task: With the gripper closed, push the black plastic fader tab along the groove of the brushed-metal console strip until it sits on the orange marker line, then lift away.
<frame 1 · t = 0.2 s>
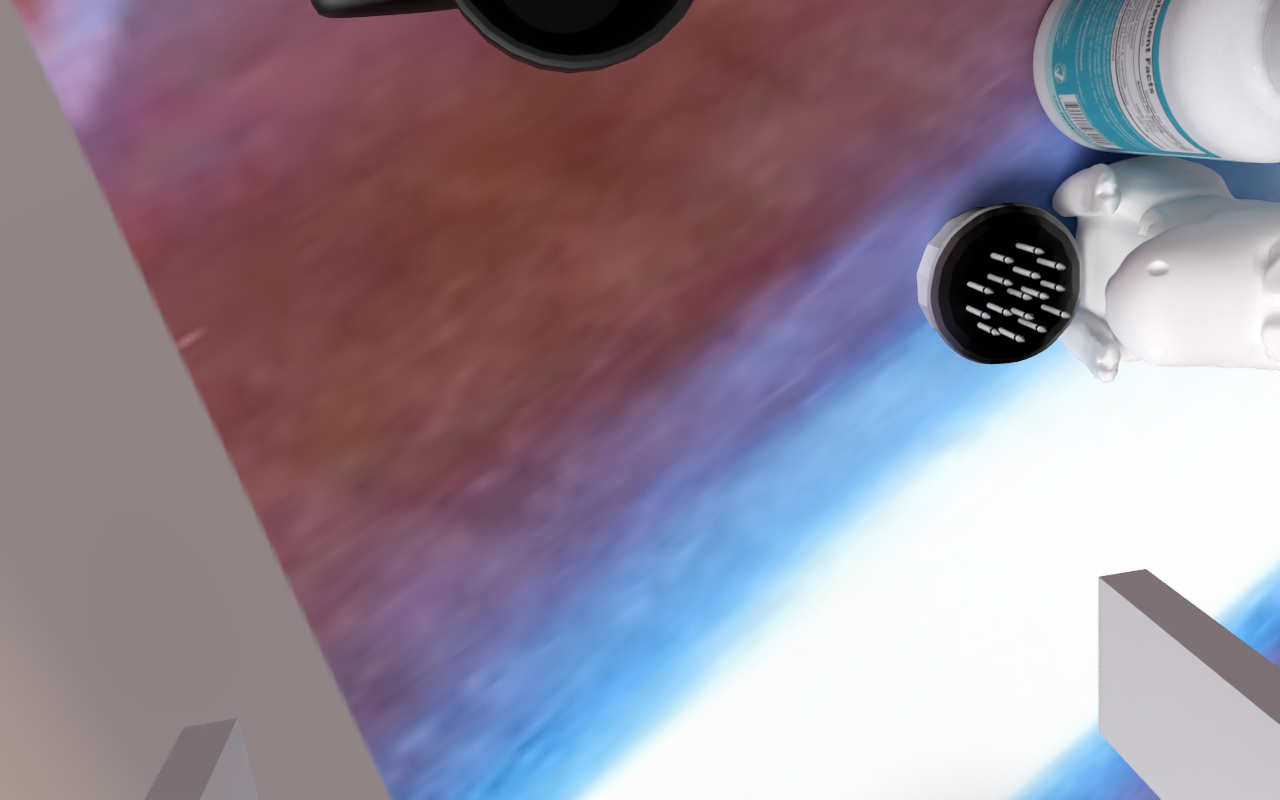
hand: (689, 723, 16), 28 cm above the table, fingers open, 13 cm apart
pill bottle: (1110, 55, 42), on the table
figurine: (1116, 253, 45), on the table
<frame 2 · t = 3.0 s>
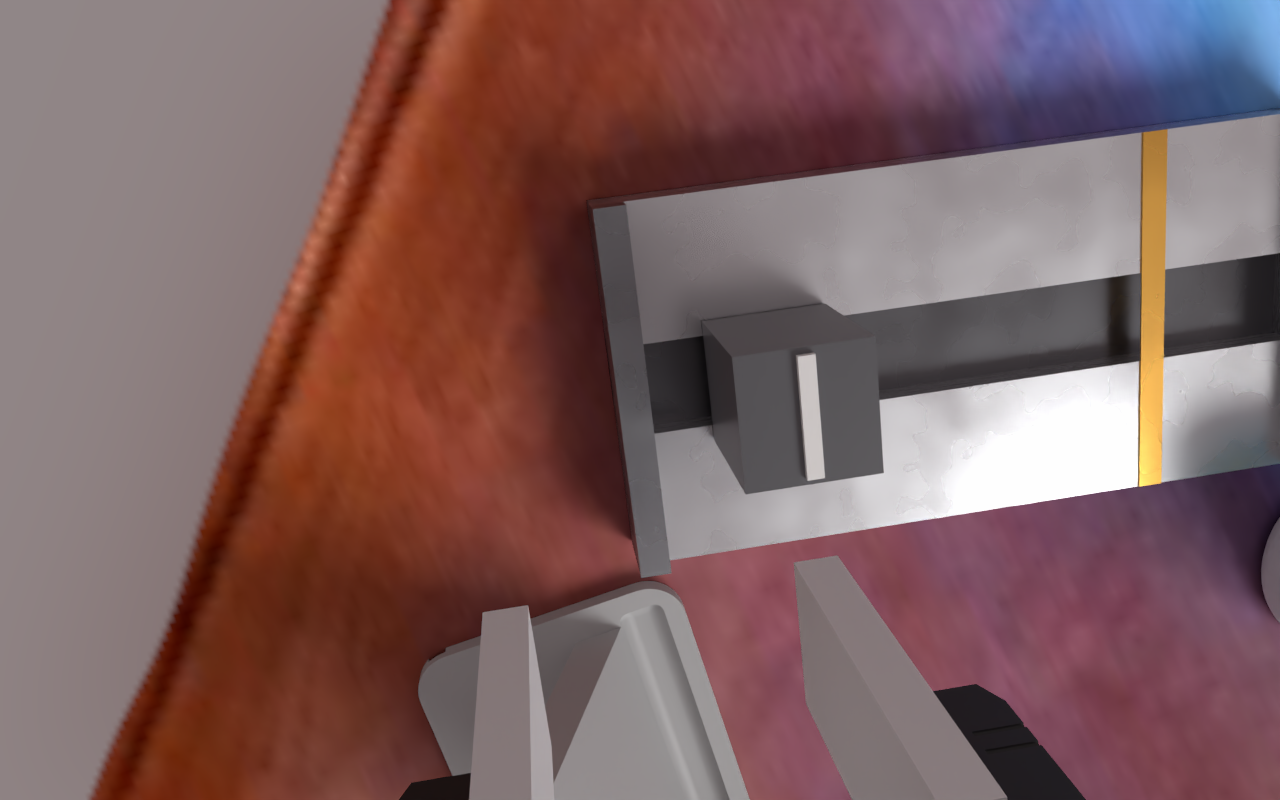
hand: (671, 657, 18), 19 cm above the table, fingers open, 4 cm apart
fader: (785, 390, 32), point 4 cm above the table, slide at -7.0 cm
console: (953, 329, 37), on the table
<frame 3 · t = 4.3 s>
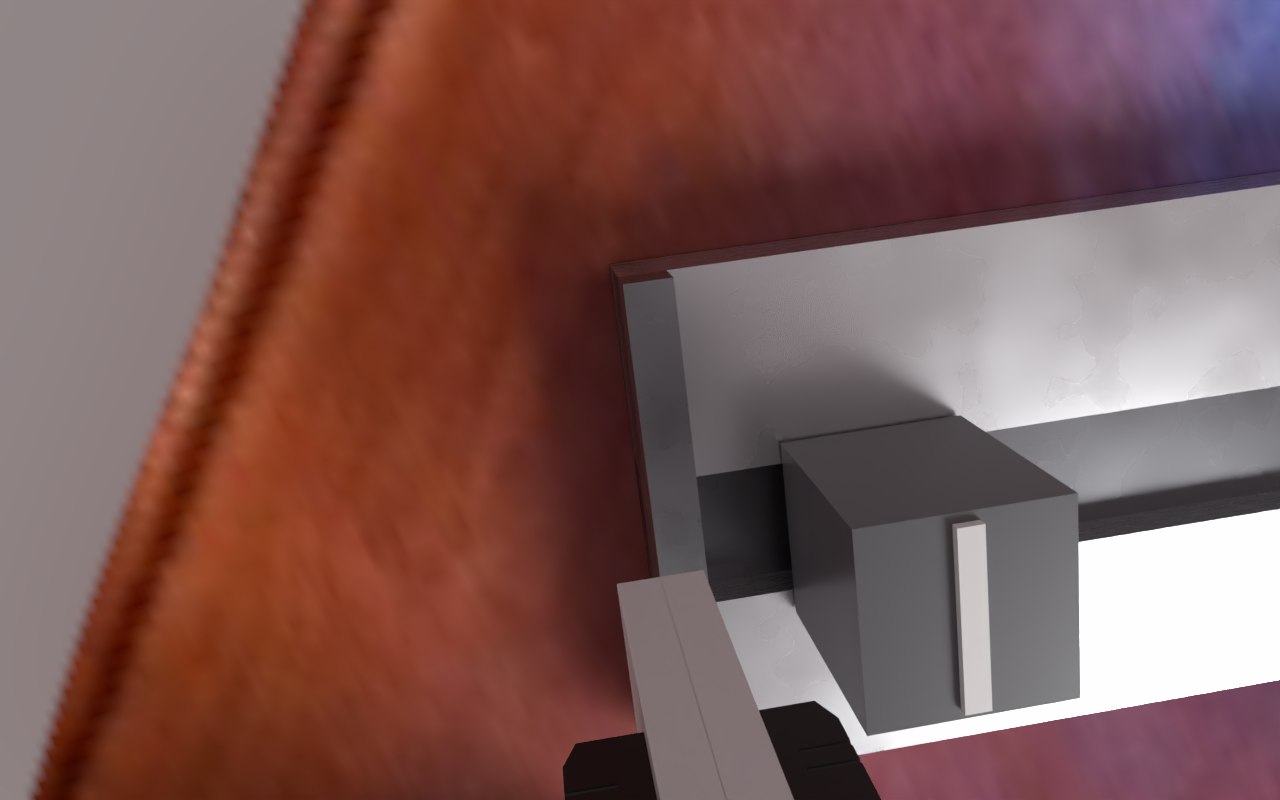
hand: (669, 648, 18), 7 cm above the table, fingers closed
fader: (912, 553, 21), point 4 cm above the table, slide at -7.0 cm
console: (1125, 439, 26), on the table
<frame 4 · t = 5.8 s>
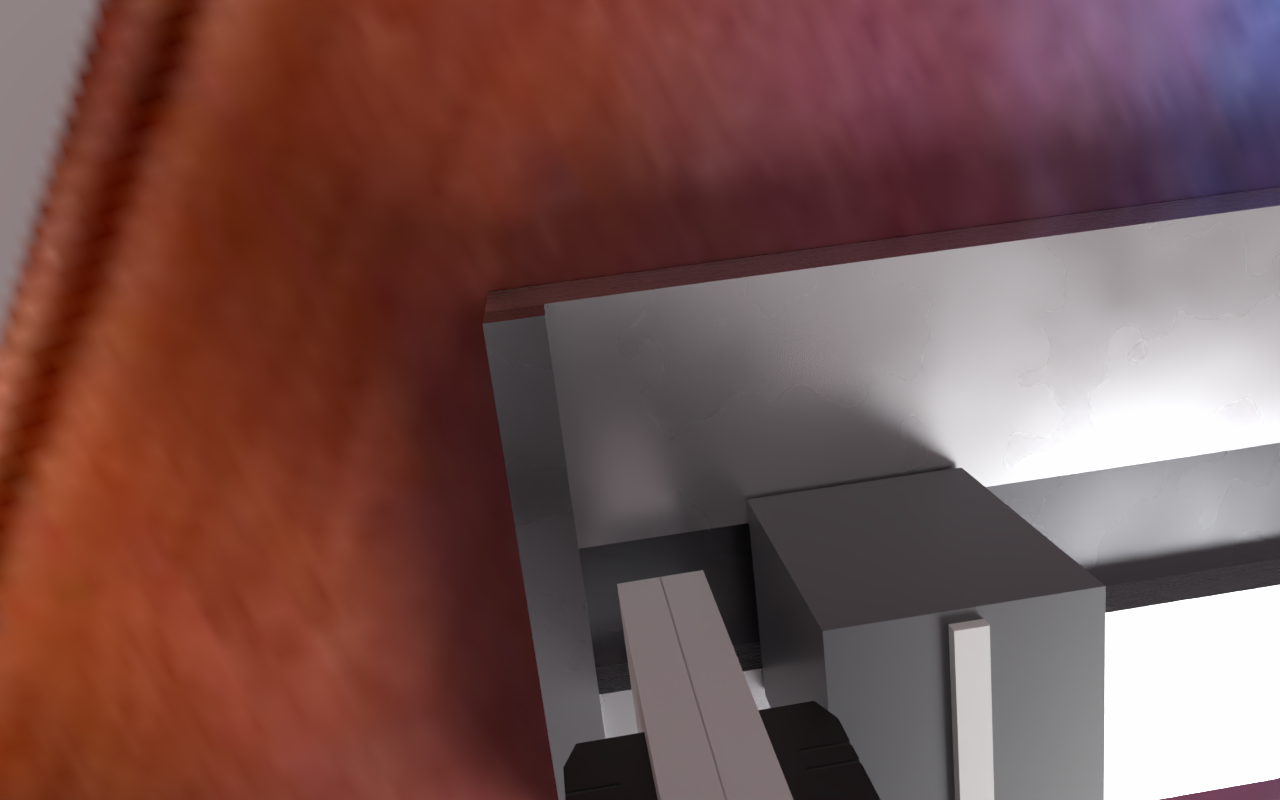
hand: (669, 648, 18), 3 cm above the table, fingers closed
fader: (901, 639, 18), point 4 cm above the table, slide at -5.9 cm, touching gripper
console: (1103, 497, 22), on the table
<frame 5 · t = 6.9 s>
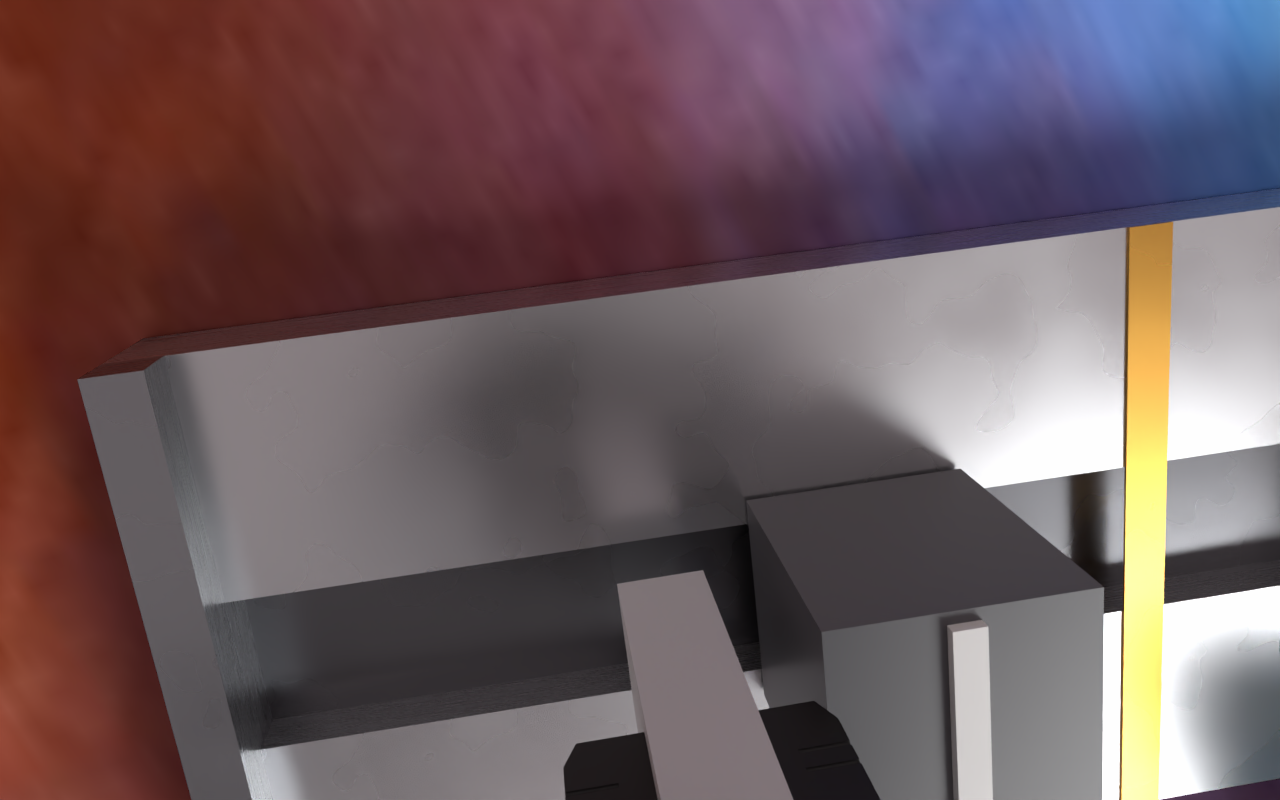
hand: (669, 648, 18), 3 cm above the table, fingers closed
fader: (900, 640, 18), point 4 cm above the table, slide at 0.4 cm, touching gripper
console: (810, 542, 22), on the table
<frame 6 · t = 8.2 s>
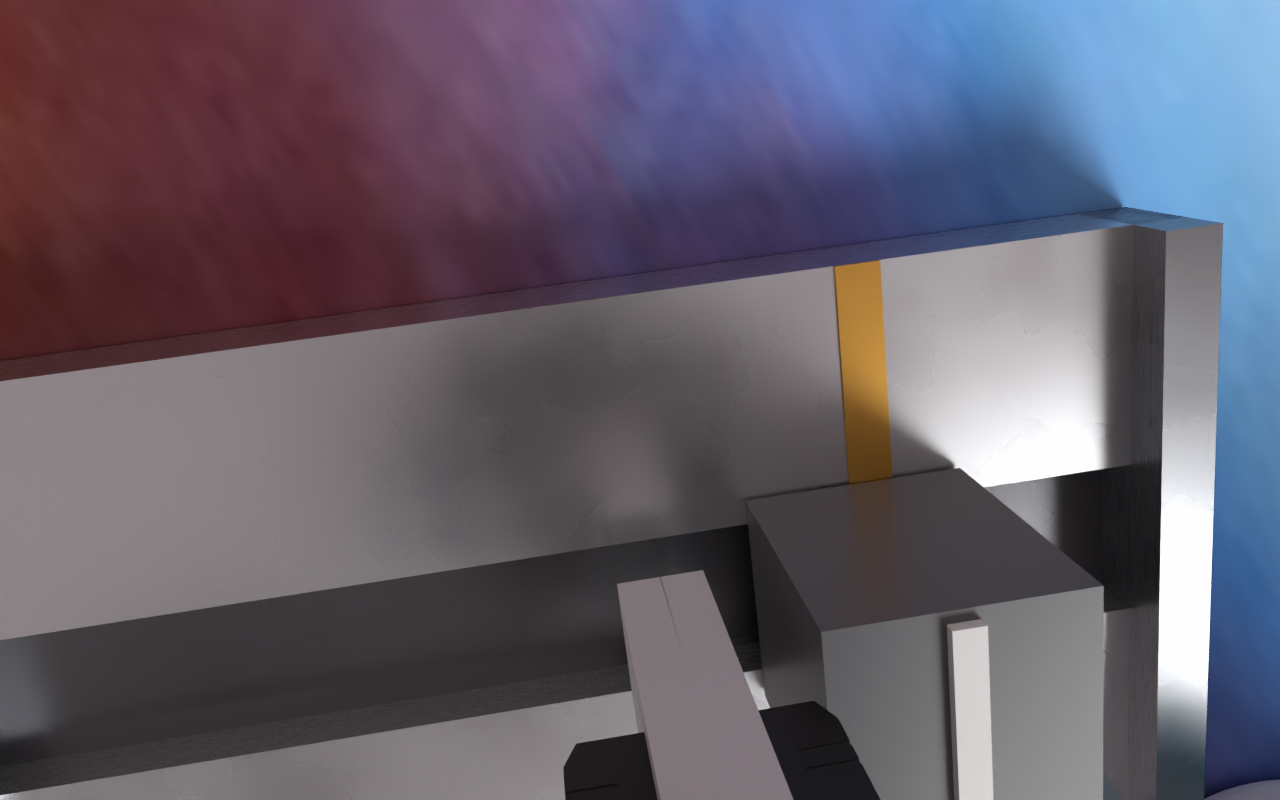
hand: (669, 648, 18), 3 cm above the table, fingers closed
fader: (900, 639, 18), point 4 cm above the table, slide at 5.7 cm, touching gripper
console: (556, 582, 21), on the table
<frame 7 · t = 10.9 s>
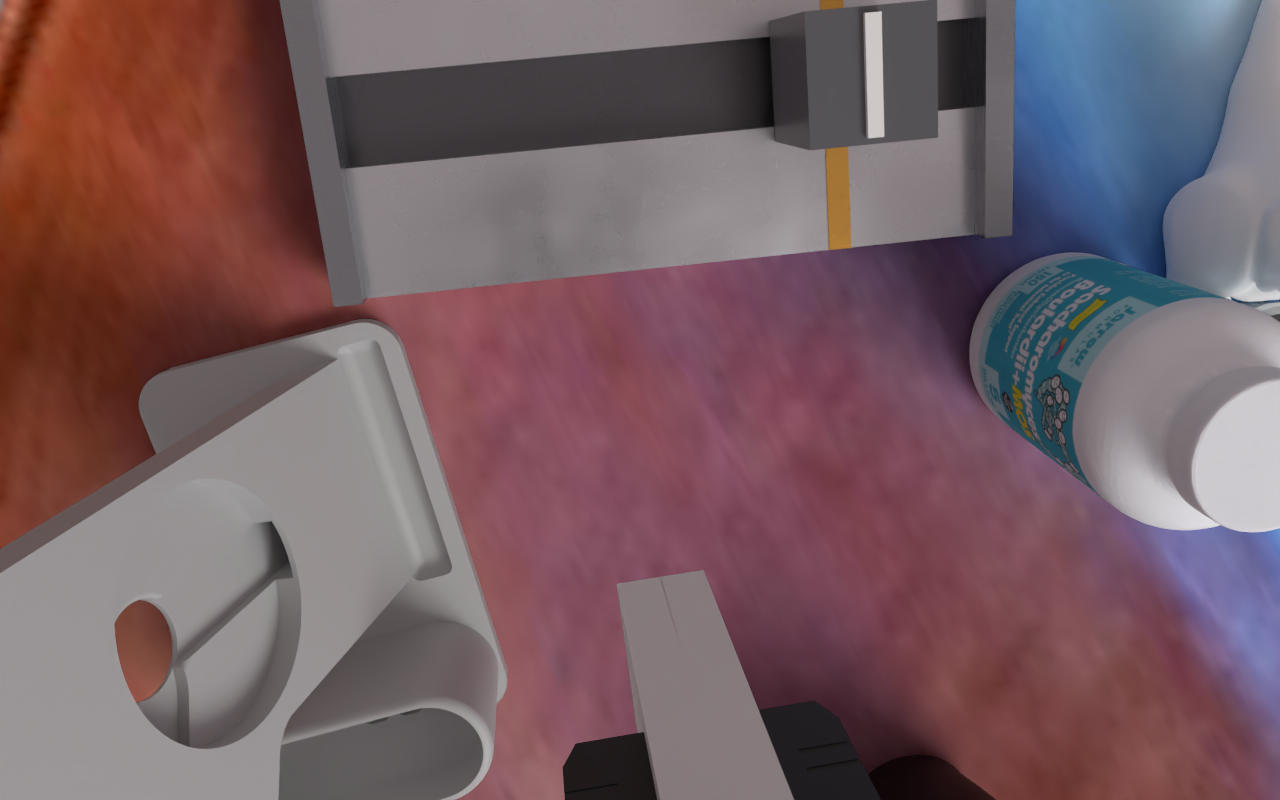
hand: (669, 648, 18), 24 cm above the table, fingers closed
pill bottle: (1048, 341, 43), on the table
figurine: (1246, 230, 42), on the table
fader: (846, 76, 35), point 4 cm above the table, slide at 5.8 cm
console: (656, 92, 38), on the table
phone holder: (336, 547, 43), on the table
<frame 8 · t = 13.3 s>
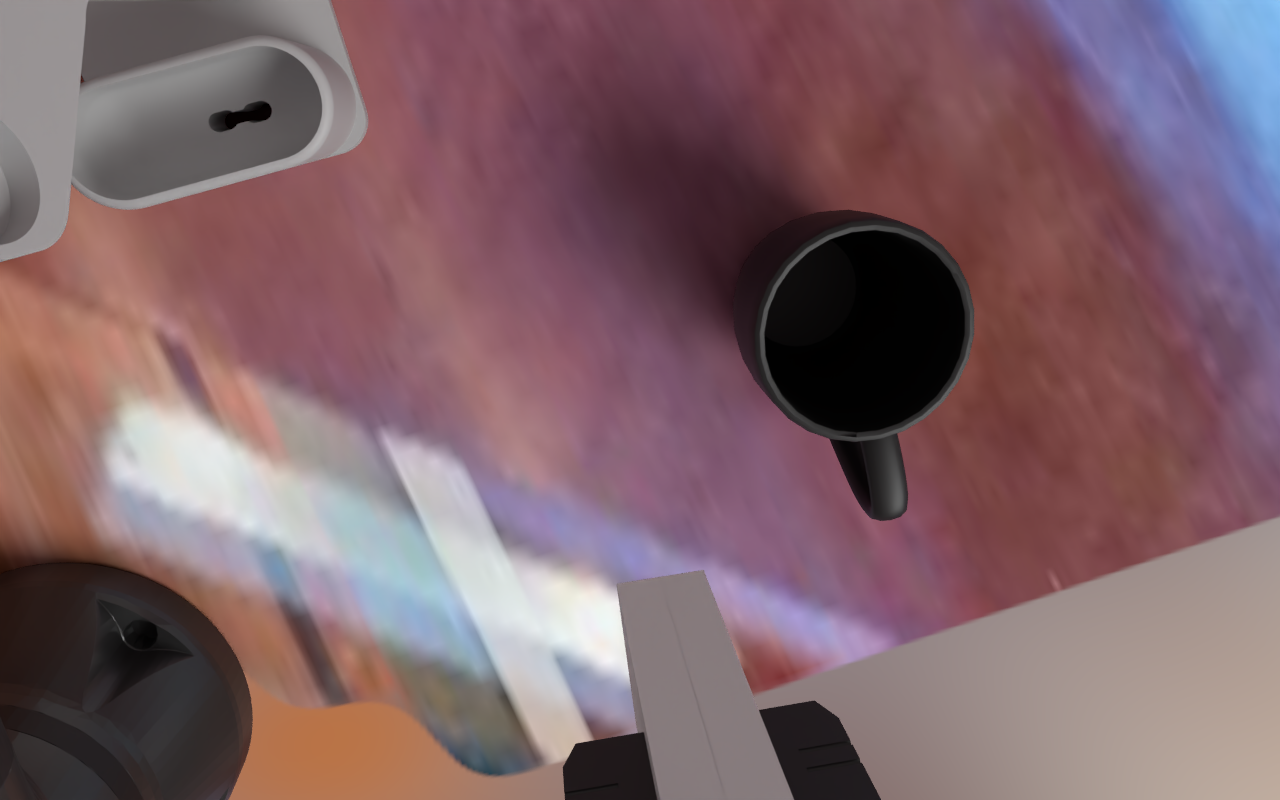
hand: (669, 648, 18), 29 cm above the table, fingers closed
mug: (804, 329, 48), on the table
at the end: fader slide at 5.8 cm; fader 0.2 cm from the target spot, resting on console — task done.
